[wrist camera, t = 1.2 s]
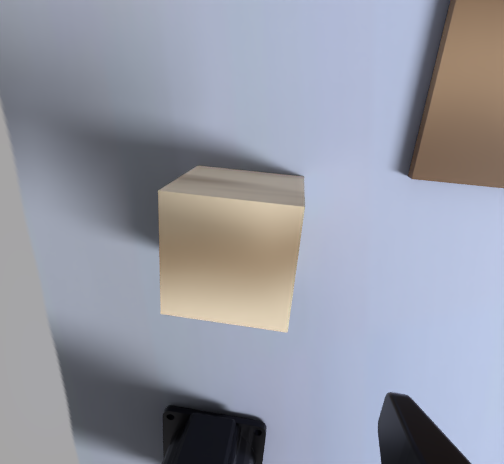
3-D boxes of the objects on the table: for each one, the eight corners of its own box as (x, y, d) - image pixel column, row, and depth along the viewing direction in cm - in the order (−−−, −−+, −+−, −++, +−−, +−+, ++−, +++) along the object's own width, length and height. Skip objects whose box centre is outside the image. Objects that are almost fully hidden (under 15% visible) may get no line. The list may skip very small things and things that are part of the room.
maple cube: (291, 272, 18) (287, 332, 13) (196, 259, 18) (160, 314, 14) (303, 176, 16) (304, 206, 11) (198, 165, 16) (158, 190, 12)
